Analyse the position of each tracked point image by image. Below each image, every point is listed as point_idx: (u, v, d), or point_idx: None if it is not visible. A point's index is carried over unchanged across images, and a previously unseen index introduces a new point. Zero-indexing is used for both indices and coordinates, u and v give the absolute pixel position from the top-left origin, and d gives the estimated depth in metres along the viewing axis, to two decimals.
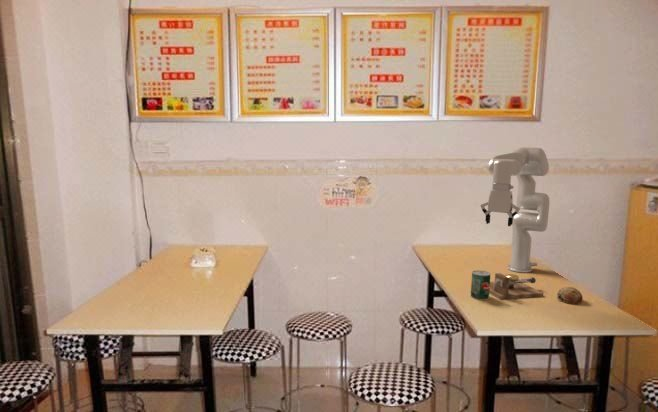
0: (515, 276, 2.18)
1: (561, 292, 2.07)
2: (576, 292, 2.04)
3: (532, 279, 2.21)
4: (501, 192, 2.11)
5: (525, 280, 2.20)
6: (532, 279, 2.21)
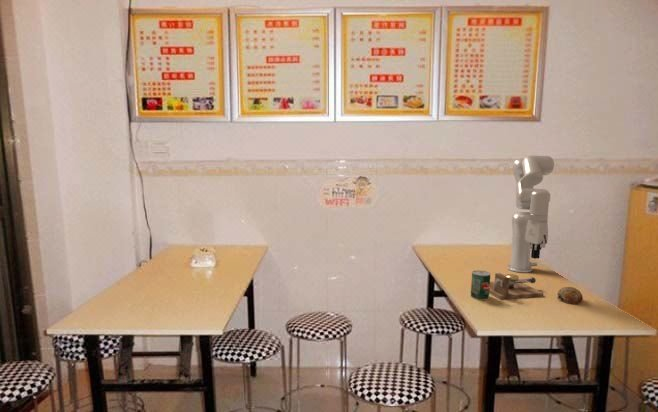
0: (515, 276, 2.18)
1: (561, 292, 2.07)
2: (576, 292, 2.04)
3: (532, 279, 2.21)
4: None
5: (525, 280, 2.20)
6: (532, 279, 2.21)
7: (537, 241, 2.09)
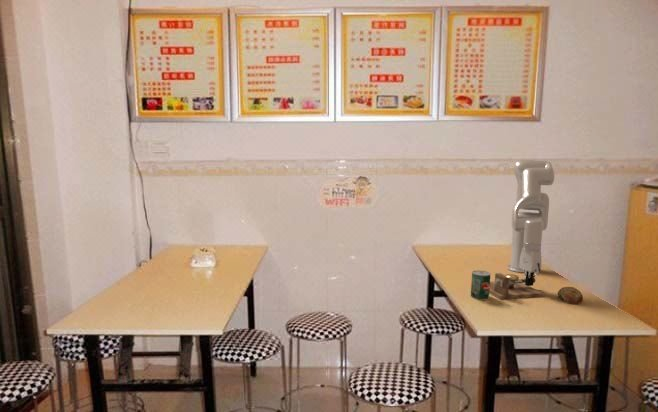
0: (515, 276, 2.18)
1: (561, 292, 2.07)
2: (576, 292, 2.04)
3: None
4: None
5: None
6: None
7: (531, 269, 2.13)
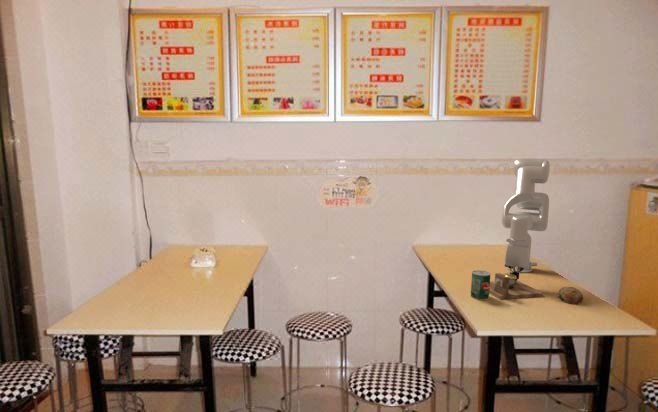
0: (511, 275, 2.21)
1: (561, 292, 2.07)
2: (576, 292, 2.04)
3: (512, 274, 2.29)
4: None
5: None
6: (512, 274, 2.29)
7: (524, 264, 2.20)
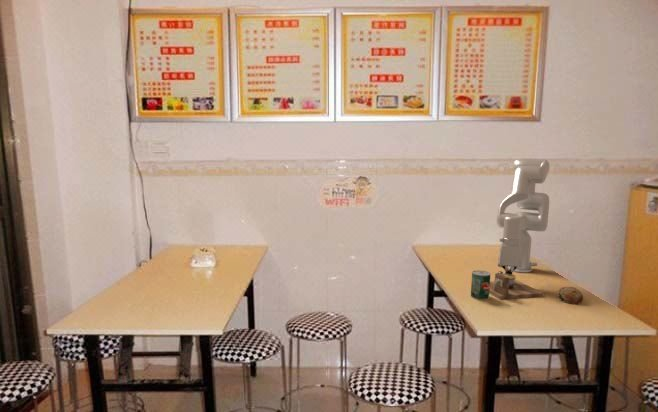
0: (509, 274, 2.21)
1: (561, 292, 2.07)
2: (576, 292, 2.04)
3: (502, 273, 2.31)
4: None
5: None
6: None
7: (519, 263, 2.23)
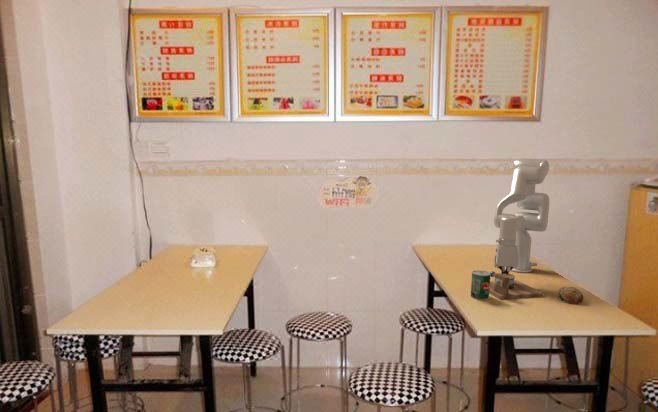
0: (507, 274, 2.21)
1: (562, 292, 2.07)
2: (577, 292, 2.04)
3: (495, 273, 2.30)
4: None
5: None
6: (495, 273, 2.30)
7: (516, 263, 2.24)
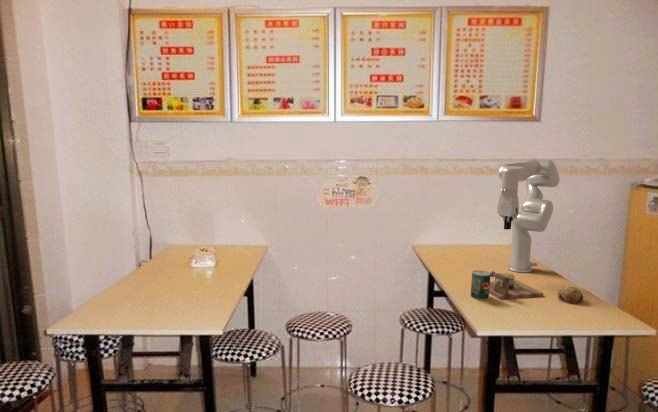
0: (507, 274, 2.21)
1: (562, 292, 2.07)
2: (577, 292, 2.04)
3: (495, 273, 2.30)
4: None
5: None
6: (495, 273, 2.30)
7: (510, 214, 2.30)
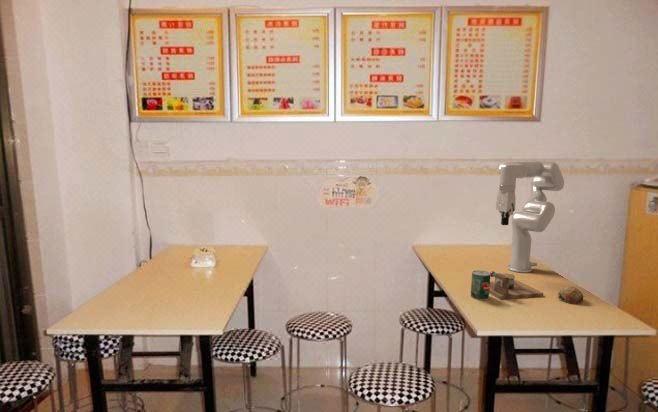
0: (507, 274, 2.21)
1: (562, 292, 2.07)
2: (577, 292, 2.04)
3: (495, 273, 2.30)
4: None
5: None
6: (495, 273, 2.30)
7: (506, 209, 2.33)
